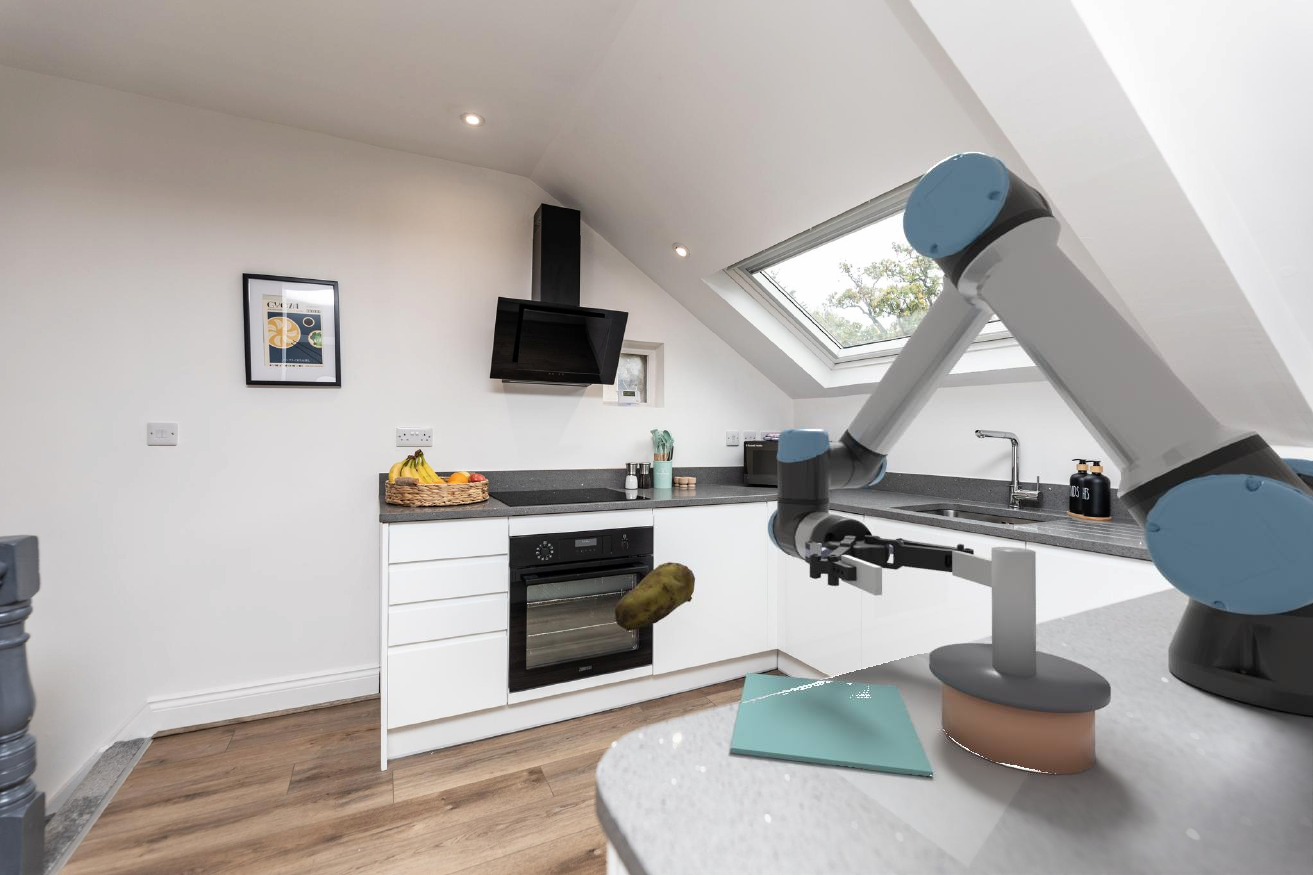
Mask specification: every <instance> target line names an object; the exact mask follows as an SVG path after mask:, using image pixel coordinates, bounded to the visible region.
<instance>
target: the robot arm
mask: <svg viewBox="0 0 1313 875" xmlns="http://www.w3.org/2000/svg"><path fill="white" fill-rule="evenodd" d="M902 227H903V228H902V229H903V232H904V233H903V234H904V237H905V239H906V240H907V243H908V244H909V245H910V246H911V247H912V248H913V249H914V251H916V252H917V253H918V254H920V255H921V256H922V257H925V258H929V259H932V260H933V261H934V263H935V264H936V265H937V266H938V267H939V268H940V270H941V271H942V272H943V276H942V282H943V289H942V290H941V292H940V293H939V294H938V296H937V297H936V298H935V301H934V302H933V303H932V305H931V306H930V307H929V309H928V311H927V312H926V313H925V314H924V316H923V318H922V320H921V321H920V322H919V324H918V325H917V327H915V330H914V331H913V333H912V334H911V336H909V338H908V340H907V341H906V343H905V344H904V346H903V347H902V349H901V350H900V351H899V353H898V354H897V356H896V357H895V359H894V360H893V361H892V363H891V365H890V366H889V368H888V369H887V370H886V372H885V373H884V375H883V377H881V380H880V381H879V382H878V383H877V385H876V386H875V388H874V389H873V391H872V392H871V394H870V396H869V397H868V398H867V400H865V402H864V404H863V405H862V407H861V408H860V410H859V411H858V413H857V414H856V416H855V417H854V419H853V421H852V422H851V423H850V424H849V426H848V427H847V429H846V430H845V431H844V433H842V436H841V437H840V438H839V440H838V441H830V439H829V438H830V437H829V432H828V431H827V430H825V429H820V428H797V429H795V428H794V429H793V428H791V429H790V428H788V429H784V430H782V431H781V432H780V433H779V434H778V442H777V453H776V460H777V506H776V507H777V509H775V510H774V511H773V513H771V516H770V518H769V520H768V522H767V523H768V524H767V533H768V537H769V539H770V541H771V542H772V543H773V545H774V546H775V547H776V548H778V549H779V550H781V551H782V552H783V553H785V554H786V555H788V556H791V557H792V558H797V559H799V560H801V561H803V562H805V563H806V564H808V565H809V578H811V579H814V580H817V579H821V578H822V575H827V586H832V587H838V586H840V580H841V581H842V582H844V583H846V584H848V585H850V586H853V587H855V588H857V589H860V590H862V591H863V592H866V593H869V594H871V595H873V596H882V595H883V569H887V570H896V571H897V570H899V569H901V568H903V567H906V568H914V569H921V570H922V569H923V570H930V571H936V572H937V571H939V572H945V573H952V575H951V576H954V577H957V578H960V579H962V580H963V579H964V580H966V581H969V582H973V583H976V584H979V585H983V586H986V587H988V588H992V558H988V557H985V556H980V555H976V554H975V552H974V549H972V548H970V547H965V544H963V543H958V544H957V545H956V546H950V545H943V544H934V543H929V542H928V543H927V542H920V541H913V540H908V539H903V538H901V537H900V538H899V537H898V538H896V539H893V538H891V539H890V538H881V536H878V535H873V534H872V532H871V531H870V529H869V527H867V525H865V524H864V523H863V522H861V521H859V520H857V519H854V518H850V517H846V516H842V515H839V514H834V513H831V512H830V511H829V508H830V507H829V503H830V490H839V489H864V488H867V487H868V486H869V487H870V486H873V485H876V484H878V483H879V482H880V481H882V479H883V478H884V477H885V475H886V471H887V468H888V467H887V465H888V460H887V456H888V455H889V453H890V452H891V451H892V450H893V449H894V447H895V446H896V445H897V443H898V442H899V440H900V439H901V438H902V436H903V435H904V434H905V433H906V431H907V430H908V429H909V428H910V426H911V425H912V423H913V422H914V421H915V419H916V418H917V417H918V416H919V414H920V413H921V412H922V410H923V408H925V406H926V405H927V403H928V402H929V401H930V399H931V398H932V397H933V395H934V394H935V393H936V392H937V390H938V389H939V388H940V386H941V385H942V384H943V382H944V381H945V379H946V378H948V376H949V374H950V373H951V372H952V370H953V369H954V368H955V366H956V365H957V364H958V362H959V361H960V360H961V358H962V357H963V356H964V355H965V353H966V352H967V350H968V349H969V348H970V347H971V345H972V344H973V342H975V340H976V338H977V337H978V336H979V335H980V333H981V332H982V331H983V329H984V328H985V327H986V325H987V324H988V323H989V321H990V320H991V319H992V317H993V316H994V315H995V316H996V317H997V318H998V319H999V321H1000V322H1001V323H1002V324H1003V326H1004V327H1005V328H1006V330H1007V331H1008V332H1009V333H1010V335H1011V336H1012V337H1013V338H1014V340H1015V341H1016V342H1017V343H1018V345H1019V346H1020V347H1021V348H1022V350H1023V351H1024V352H1025V353H1026V355H1027V356H1028V357H1029V359H1030V360H1031V361H1032V362H1033V364H1034V365H1035V366H1036V367H1037V369H1038V370H1039V371H1040V372H1041V373H1042V375H1043V376H1044V377H1045V379H1046V380H1047V382H1048V383H1049V384H1050V385H1051V387H1053V389H1054V390H1055V391H1056V393H1057V394H1058V395H1059V396H1060V398H1061V399H1062V400H1063V401H1064V403H1065V404H1066V405H1067V406H1068V408H1069V409H1070V411H1071V412H1072V413H1073V414H1074V415H1075V417H1076V418H1077V419H1078V420H1079V421H1080V423H1081V424H1082V425H1083V427H1084V428H1085V429H1086V431H1088V433H1089V434H1090V436H1092V438H1093V439H1094V441H1095V442H1096V443H1097V444H1098V445H1099V447H1100V448H1101V450H1103V452H1104V453H1105V455H1107V457H1108V458H1109V460H1110V461H1111V462H1112V463H1113V465H1114V466H1115V467H1116V468H1117V470H1118V471H1119V472H1120V482H1119V484H1118V489H1117V493H1116V496H1117V498H1118V499H1119V500H1120V502H1121V504H1123V506H1124V507H1125V508H1126V509H1127V511H1128V512H1129V514H1130V515H1131V517H1132V518H1133V519H1134V520H1135V522H1136V523H1137V524H1138V525H1139V527H1140V529H1142V531H1143V532H1144V533H1143V534H1144V542H1145V545H1146V548H1147V553H1148V555H1149V557H1150V559H1151V562H1152V564H1153V565H1154V566H1155V568H1156V569H1157V571H1158V572H1159V573H1160V575H1161V576H1162V577H1163V578H1164V579H1165V580H1166V581H1167V582H1168V583H1170V585H1172V587H1174V588H1175V589H1177V590H1178V591H1179V592H1181V593H1182V594H1184V595H1186V596H1187V597H1188V601H1187V604H1186V606H1185V609H1184V611H1183V614H1182V616H1181V618H1180V621H1179V623H1178V625H1177V627H1176V630H1175V632H1174V634H1173V636H1172V639H1171V641H1170V643H1169V646H1168V648H1167V649H1168V660H1167V661H1168V664H1167V665H1168V667H1167V668H1168V670H1169V671H1170V672H1171V673H1172V674H1173V675H1174V676H1176V677H1177V678H1179V679H1180V680H1182V681H1184V682H1185V683H1189V684H1190V685H1193V686H1195V687H1197V688H1200V689H1202V690H1205V691H1208V692H1210V693H1213V694H1216V695H1218V696H1222V697H1225V698H1228V699H1232V700H1235V701H1239V702H1242V703H1246V704H1250V705H1255V706H1258V707H1262V708H1268V709H1273V710H1277V711H1283V712H1288V713H1292V714H1299V715H1305V716H1312V717H1313V460H1309V459H1303V458H1291V457H1290V458H1288V457H1281V456H1280V455H1279V454H1278V453H1277V452H1276V451H1275V450H1274V449H1273V448H1272V447H1271V446H1270V444H1269V443H1267V441H1266V440H1265V439H1264V438H1262V436H1261V435H1260V434H1259V433H1258V432H1257V431H1256V430H1249V429H1244V428H1235V427H1230V426H1227V425H1223V424H1221V423H1220V422H1219V421H1218V420H1217V418H1216V417H1215V416H1214V414H1212V413H1211V412H1210V411H1209V410H1208V409H1207V407H1206V406H1205V405H1204V404H1203V402H1201V401H1200V400H1199V399H1198V397H1196V396H1195V394H1194V393H1193V392H1192V391H1191V390H1190V389H1189V388H1188V387H1187V385H1185V383H1183V381H1182V380H1181V379H1180V378H1179V376H1177V374H1176V373H1174V371H1173V370H1172V369H1171V367H1169V366H1168V365H1167V364H1166V363H1165V361H1163V359H1162V358H1161V357H1160V356H1159V355H1158V354H1157V353H1156V352H1155V351H1154V350H1153V348H1152V347H1151V346H1150V345H1149V344H1148V343H1147V342H1146V341H1145V340H1144V338H1142V336H1141V335H1139V334H1138V332H1137V331H1136V330H1135V329H1134V328H1133V327H1132V326H1131V324H1129V322H1128V321H1127V320H1126V319H1125V317H1123V316H1122V315H1121V313H1119V311H1118V310H1117V309H1116V308H1115V307H1114V306H1113V304H1112V303H1111V302H1109V300H1108V299H1107V298H1106V297H1105V296H1104V295H1103V294H1102V293H1101V292H1100V291H1099V289H1098V288H1097V287H1096V286H1095V285H1094V284H1093V283H1092V281H1090V280H1089V278H1087V276H1086V275H1085V274H1084V273H1083V272H1082V271H1081V270H1080V269H1079V268H1078V266H1077V265H1075V263H1074V262H1073V261H1072V260H1071V259H1070V258H1069V256H1067V255H1066V253H1065V252H1064V251H1063V250H1062V249H1061V248H1060V247H1059V246H1058V241H1059V238H1060V235H1061V234H1060V233H1061V230H1062V226H1061V223H1060V221H1059V220H1058V219H1057V218H1056V217H1055V216H1054V214H1053V210H1052V208H1051V206H1050V204H1049V202H1048V200H1047V199H1046V198H1045V196H1044V195H1042V193H1041V192H1039V191H1038V190H1037V189H1036V188H1034V187H1032V186H1031V185H1029V184H1028V183H1027V182H1026V181H1024V179H1022V178H1020V177H1019V176H1018V175H1017V174H1015V173H1014V172H1013V171H1012V170H1010V169H1009V168H1008V167H1007V166H1006V165H1005V163H1004V162H1003V161H1002V160H1001V159H999V158H997V157H995V156H990V155H988V154H986V153H982V152H976V151H966V152H962V153H958V154H954V155H952V156H949V157H947V158H945V159H943V160H941V161H940V162H938V163H937V164H935V165H933V167H931V168H930V169H929V170H928V171H927V172H925V174H923V176H922V177H921V178H920V179H919V180H918V182H917V183H916V185H914V187H913V189H912V190H911V193H909V196H908V198H907V201H906V206H905V210H904V213H903V216H902ZM891 555H892V557H893V559H892V560H893V561H892V562H889V561H890V560H889V559H890V557H891Z"/></svg>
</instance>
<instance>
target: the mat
mask: <svg viewBox="0 0 1313 875" xmlns="http://www.w3.org/2000/svg"><path fill="white" fill-rule="evenodd" d="M823 680H824V679H818V678H816V679H815V678H807V677H805V678H804V677H798V676H797V677H795V676H794V677H793V676H785V675H784V676H783V675H773V674H763V673H749V672H747V673H746V675H745V680H744V685H743V688H742V689H743V690H742V695H741V699H740V702H744V701H749V700H751V699H756V698H758V697H763V696H766V695H770V694H774V693H778V692H782V691H783V690H790V689H791V688H797V687H799V686H803V685H808V684H812V683H815V682H817V681H823ZM832 681H833V682H830V683H826V681H825V682H824V684H823V685H819V686H814V685H812V687H811V688H807V689H804V690H800V689H801V688H799V690H796V691H794V690H792V691H790V692H784V693H780V694H775V695H771V696H768V697H765V698H762V699H756V700H755V701H750V702H747V703H742V704H740V703H739V707H738V708H739V709H738V713H737V717H736V721H735V722H736V723H735V726H734V731H733V736H732V740H731V743H730V753H731V754H739V755H746V756H747V755H748V756H756V757H762V758H771V759H780V760H789V761H796V762H804V763H806V762H807V763H812V764H822V765H828V766H836V765H841V766H840V767H844V766H850V767H849V768H852V767H855V768H854V769H861V768H862V769H861V770H868V771H869V770H870V771H878V772H887V773H894V774H895V773H896V774H902V775H909V774H912V775H911V776H918V775H924V776H923V777H926V776H930V775H932V776H933V777H934V771H933V769H932V766H931V764H930V761H929V759H928V757H927V755H926V753H925V750H924V747H923V744H922V743H921V740H920V738H919V736H918V732H917V730H916V728H915V725H914V723H913V721H912V718H911V717H910V716H911V715H910V714H909V712H908V709H907V707H906V705H905V702H904V700H903V697H902V694H901V693H900V690H899V688H898V686H895V685H884V684H883V685H882V684H872V683H861V682H851V681H850V682H849V681H839V680H832ZM847 683H852V684H851V685H849V684H847ZM818 684H819V683H818ZM821 684H822V683H821ZM815 685H817V684H815ZM868 686H869V687H868ZM808 687H810V686H808ZM804 688H806V687H804ZM868 688H869V689H868ZM864 690H865V691H864ZM867 690H869V691H867ZM859 692H860V693H859ZM863 692H865V693H863ZM866 692H868V693H866ZM785 693H788V694H785ZM783 694H785V695H783ZM858 694H859V695H861V694H864V695H865V694H867V695H868V694H869V695H870V696H867V697H869V698H864V697H866V695H865V696H859V695H858ZM852 695H853V696H852ZM856 695H858V696H856ZM850 697H851V698H850ZM857 697H860V698H857ZM861 697H863V698H861ZM870 697H871V698H870ZM753 702H754V703H753Z"/></svg>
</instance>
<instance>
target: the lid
mask: <svg viewBox="0 0 1313 875" xmlns="http://www.w3.org/2000/svg"><path fill="white" fill-rule="evenodd" d="M1036 552H1037V551H1035V550H1032V549H1027V548H1022V547H1015V546H1013V547H1011V546H995V547H991V559H992V587H991V643H984V642H983V643H982V642H976V643H974V642H968V643H962V642H961V643H954V644H952V643H951V644H947V645H942V646H938V647H937V648H934V649H933V650H932V651H931V652H930V653H929V656H928V662H929V663H928V664H929V665H928V667H929V671H930V673H931V674H932V676H934V677H935V678H936V679H937V680H939V681H940V682H941V683H942V682H943V683H944V684H946V685H948V686H950V687H952V688H954V689H956V690H958V691H960V692H963V693H965V694H968V695H970V696H973V697H976V698H979V699H982V700H986V701H989V702H993V703H996V704H1001V705H1005V706H1009V707H1014V708H1019V709H1025V710H1032V711H1040V712H1051V713H1083V712H1091V711H1095V712H1096V711H1098V710H1101V709H1104V708H1106V707H1107V706H1108V705H1109V704H1110V703H1111V699H1112V687H1111V684H1110V682H1109V681H1108V680H1107V679H1106V678H1105V677H1104V676H1103V675H1101V674H1100V673H1099V672H1097V671H1095V670H1093V669H1091V668H1090V667H1087V666H1085V665H1084V664H1080V663H1078V662H1076V661H1073V660H1071V659H1067V658H1064V657H1061V656H1058V655H1054V654H1051V653H1048V652H1047V653H1046V652H1043V651H1040V650H1037V581H1036V580H1037V575H1036V574H1037V570H1036V569H1037V567H1036V566H1037V564H1036V559H1037V558H1036V557H1037V556H1036Z"/></svg>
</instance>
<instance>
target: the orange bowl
mask: <svg viewBox="0 0 1313 875" xmlns="http://www.w3.org/2000/svg"><path fill="white" fill-rule="evenodd" d="M942 726H943V728H942V730H943V729H944V730H945V732H946V733H947V735H948V736H950V737H951V738H953V739H954V740H955V741H956V742H958V743H959V744H961V745H962V746H964V747H966V748H968V749H969V750H970V751H972V752H974V753H977V754H979V755H980V756H983V757H984V758H987V759H988V760H992V761H994V762H998V763H1005V764H1010V765H1017V766H1020V767H1024V768H1029V769H1035V770H1038V771H1039V770H1040V771H1041V772H1048V773H1051V774H1050V775H1070V774H1071V775H1072V774H1078V773H1082V772H1085V771H1087V770H1090V768H1092V767H1093V766H1094V764H1095V763H1096V710H1095V711H1091V712H1083V713H1051V712H1040V711H1032V710H1025V709H1019V708H1014V707H1009V706H1005V705H1001V704H996V703H993V702H989V701H986V700H982V699H979V698H976V697H973V696H970V695H968V694H965V693H963V692H960V691H958V690H956V689H954V688H952V687H950V686H948V685H946V684H944V683H943V682H941V727H942ZM945 732H944V733H945ZM947 735H946V736H947ZM948 736H947V737H948ZM988 760H987V761H988ZM994 762H993V763H994ZM1055 773H1056V774H1055Z"/></svg>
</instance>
